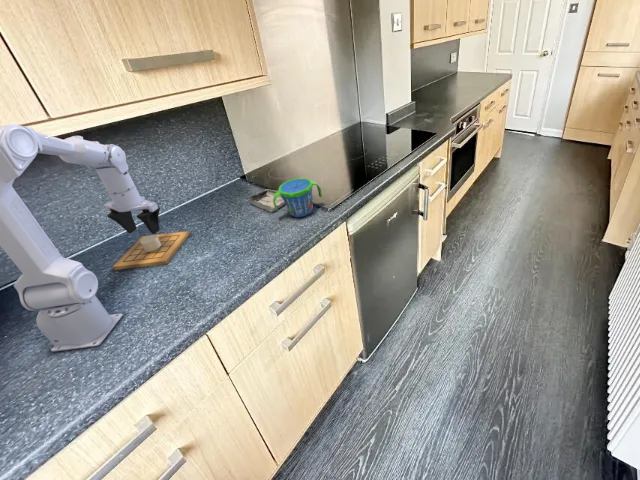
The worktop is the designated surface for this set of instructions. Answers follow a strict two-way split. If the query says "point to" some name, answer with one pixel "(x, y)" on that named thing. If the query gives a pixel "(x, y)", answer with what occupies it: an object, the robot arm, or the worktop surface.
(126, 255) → the board
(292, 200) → the snack cup
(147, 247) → the cream cylinder puck
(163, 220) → the worktop surface
